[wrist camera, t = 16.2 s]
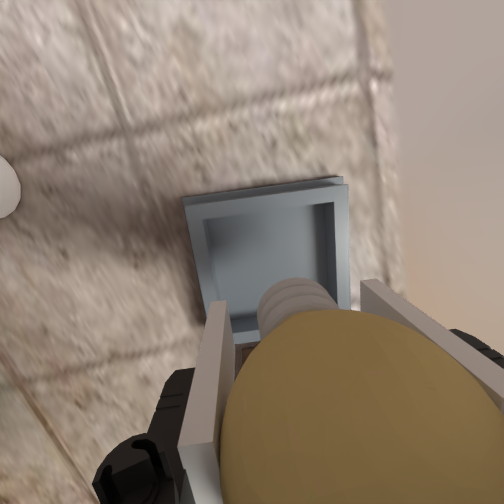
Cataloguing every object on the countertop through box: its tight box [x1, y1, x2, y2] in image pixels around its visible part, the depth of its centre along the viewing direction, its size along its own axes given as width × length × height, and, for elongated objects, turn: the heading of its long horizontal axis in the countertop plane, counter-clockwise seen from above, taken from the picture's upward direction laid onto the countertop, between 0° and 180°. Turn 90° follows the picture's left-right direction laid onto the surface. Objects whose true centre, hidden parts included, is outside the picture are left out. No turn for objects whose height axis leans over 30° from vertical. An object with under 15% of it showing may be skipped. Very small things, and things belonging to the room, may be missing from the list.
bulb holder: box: [182, 176, 351, 345], centre depth 19 cm, size 12×12×3 cm
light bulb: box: [219, 277, 504, 504], centre depth 8 cm, size 6×6×10 cm
